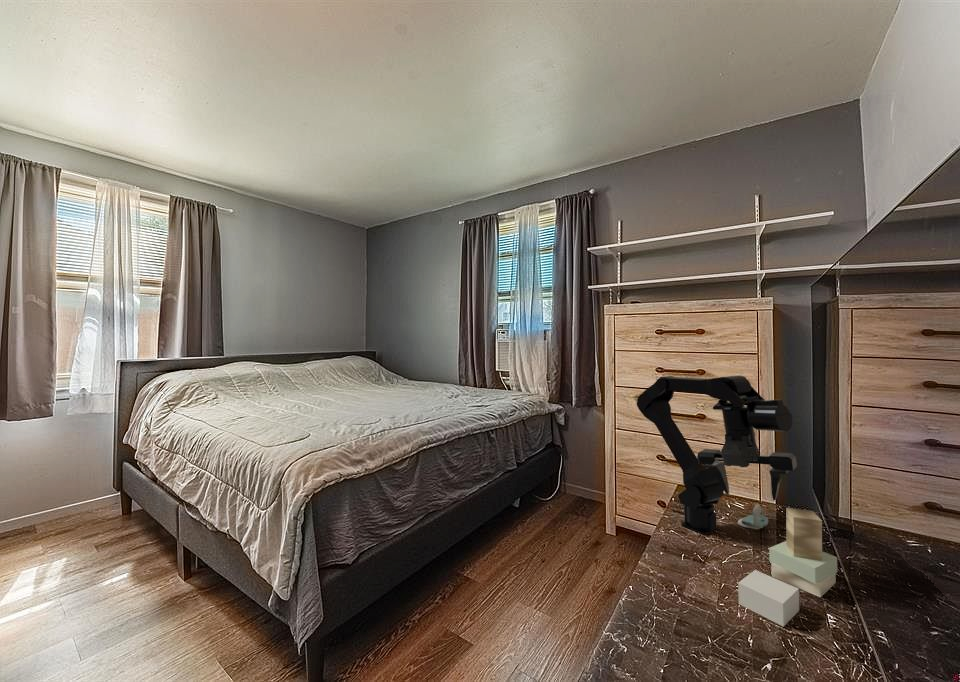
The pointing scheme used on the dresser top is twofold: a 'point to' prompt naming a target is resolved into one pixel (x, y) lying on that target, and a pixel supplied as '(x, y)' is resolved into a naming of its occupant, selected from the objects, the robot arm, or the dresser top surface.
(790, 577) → the birch slab lower
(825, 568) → the sage slab upper
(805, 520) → the maple block
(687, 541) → the dresser top surface
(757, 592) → the grey stand
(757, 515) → the pacifier
